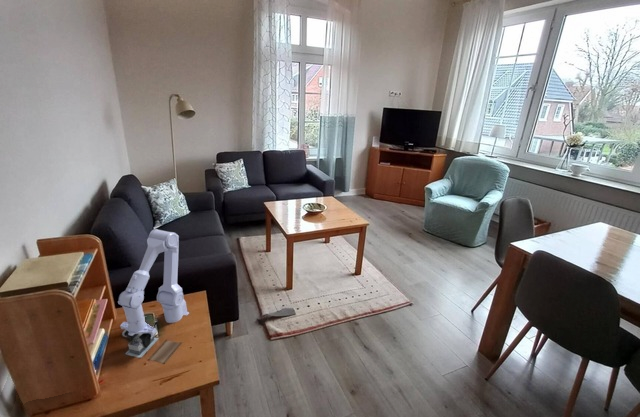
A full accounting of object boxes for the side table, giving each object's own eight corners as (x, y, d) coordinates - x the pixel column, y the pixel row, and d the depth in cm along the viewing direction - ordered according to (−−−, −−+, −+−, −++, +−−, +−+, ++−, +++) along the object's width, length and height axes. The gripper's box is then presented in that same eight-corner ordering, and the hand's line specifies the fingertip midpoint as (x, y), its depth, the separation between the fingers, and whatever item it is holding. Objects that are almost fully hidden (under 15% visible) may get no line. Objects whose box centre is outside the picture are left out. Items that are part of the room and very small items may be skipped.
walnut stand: (149, 362, 118) (148, 358, 117) (166, 342, 127) (166, 339, 126) (165, 366, 116) (164, 362, 116) (181, 346, 126) (181, 342, 125)
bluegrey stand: (126, 357, 120) (125, 353, 119) (144, 338, 129) (144, 334, 128) (141, 360, 118) (140, 357, 118) (159, 341, 128) (158, 337, 127)
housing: (145, 337, 127) (143, 328, 125) (154, 339, 126) (152, 330, 124) (130, 352, 120) (127, 343, 118) (140, 355, 119) (137, 345, 117)
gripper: (111, 321, 115) (118, 348, 120) (144, 328, 113) (150, 356, 118) (125, 309, 122) (132, 335, 127) (157, 315, 119) (163, 342, 124)
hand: (142, 344), depth 123 cm, fingers open, 4 cm apart
